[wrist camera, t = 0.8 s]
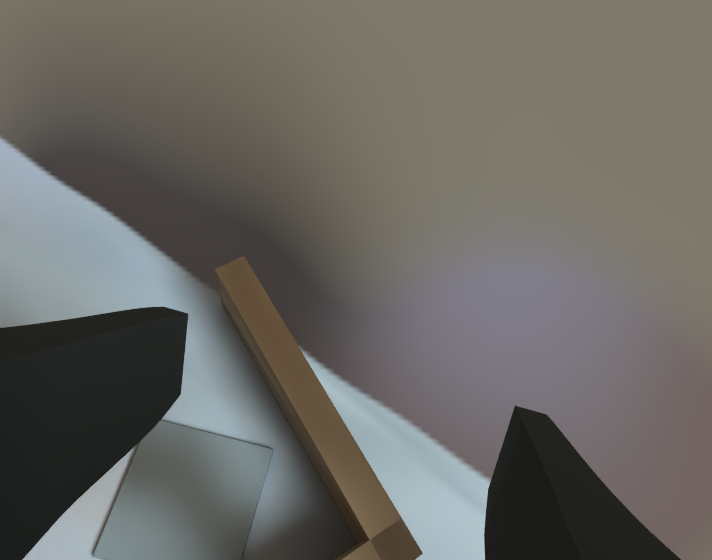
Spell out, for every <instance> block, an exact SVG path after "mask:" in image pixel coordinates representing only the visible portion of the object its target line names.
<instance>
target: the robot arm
mask: <svg viewBox="0 0 712 560" xmlns="http://www.w3.org/2000/svg"><path fill="white" fill-rule="evenodd" d="M187 321H188V314H187V313H184V312H180V311H177V310H173V309H169V308H166V307H148V308H139V309H131V310H124V311H118V312H112V313H106V314H99V315H93V316H87V317H81V318H75V319H68V320H61V321H54V322H46V323H39V324H32V325H24V326H16V327H6V328H0V560H22V559H23V558H24V557H25V556H26V555H27V554H28V552H29V551H30V550H31V549H32V548H33V547H34V546H35V545H36V543H37V542H38V541H39V540H40V539H41V538H42V537H43V535H44V534H45V533H46V532H47V531H48V530H49V529H50V528H51V526H52V525H53V524H54V523H55V522H56V521H57V520H58V518H59V517H60V516H61V515H62V514H63V513H64V512H65V511H66V510H67V509H68V508H69V507H70V506H71V505H72V504H73V503H74V502H75V501H76V500H77V499H78V498H79V497H80V496H82V495H83V494H84V493H85V492H86V491H87V490H88V489H89V488H90V487H91V486H92V485H93V484H94V483H96V482H97V481H98V480H99V479H100V478H101V477H102V476H103V475H104V474H105V473H106V472H107V471H109V470H110V469H111V468H112V467H113V466H114V465H115V464H116V463H117V462H118V461H119V460H120V459H122V458H123V457H124V456H125V455H126V454H127V453H128V452H129V451H130V450H131V449H132V448H133V447H134V446H135V445H136V444H138V443H139V442H140V441H141V440H142V439H143V438H144V437H145V436H146V435H147V434H148V433H149V432H150V431H151V430H152V429H153V428H154V427H155V426H156V425H157V423H158V422H159V421H160V420H161V419H162V417H163V416H164V415H165V414H166V413H167V411H168V410H169V409H170V407H171V406H172V405H173V404H174V402H175V401H176V400H177V398H178V397H179V396H180V394H181V385H182V374H183V364H184V353H185V342H186V332H187ZM484 539H485V560H681V559H680V558H678V557H677V556H676V555H675V554H674V553H673V552H672V551H671V550H670V549H669V548H667V547H666V546H665V545H664V544H663V543H662V542H661V541H660V540H659V539H657V538H656V537H655V536H654V535H653V534H652V533H651V532H650V531H649V530H648V529H647V528H646V527H645V526H644V525H643V524H642V523H641V522H639V520H637V518H635V516H634V515H632V513H631V512H630V511H629V510H628V509H627V508H626V507H625V506H624V505H623V504H622V503H621V502H620V501H619V500H618V498H616V496H615V495H614V494H613V493H612V492H611V491H610V490H609V489H608V488H607V487H606V485H605V484H604V483H603V482H602V481H601V480H600V479H599V478H598V476H597V475H596V474H595V473H594V472H593V470H592V469H591V468H590V467H589V466H588V464H587V463H586V462H585V461H584V460H583V458H582V457H581V456H580V455H579V453H578V452H577V451H576V450H575V449H574V447H573V446H572V445H571V443H570V442H569V441H568V440H567V439H566V437H565V436H564V435H563V433H562V432H561V431H560V430H559V429H558V427H557V426H556V425H555V424H554V422H553V421H552V420H551V419H550V418H549V417H548V416H547V415H546V414H543V413H539V412H536V411H532V410H528V409H525V408H521V407H517V406H515V408H514V411H513V414H512V417H511V420H510V423H509V426H508V430H507V433H506V436H505V439H504V442H503V446H502V448H501V451H500V454H499V458H498V461H497V464H496V467H495V470H494V474H493V476H492V479H491V483H490V486H489V489H488V498H487V508H486V520H485V533H484Z"/></svg>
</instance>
